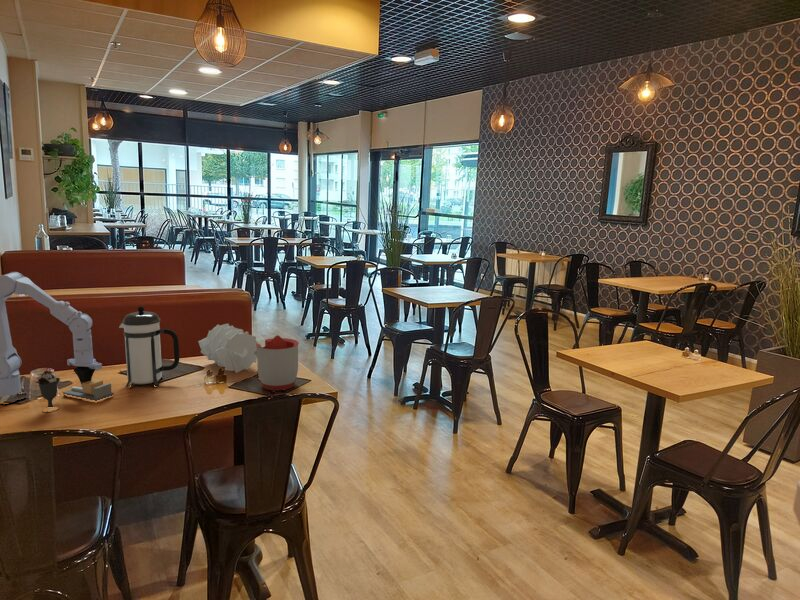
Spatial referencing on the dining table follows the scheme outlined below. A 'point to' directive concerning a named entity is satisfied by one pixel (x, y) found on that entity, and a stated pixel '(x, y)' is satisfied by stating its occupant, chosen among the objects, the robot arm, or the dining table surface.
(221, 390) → the dining table surface
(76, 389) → the track
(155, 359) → the coffee press
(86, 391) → the sliding carriage
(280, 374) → the citrus juicer
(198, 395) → the dining table surface
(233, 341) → the white ruffled oval piece
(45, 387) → the sundae
